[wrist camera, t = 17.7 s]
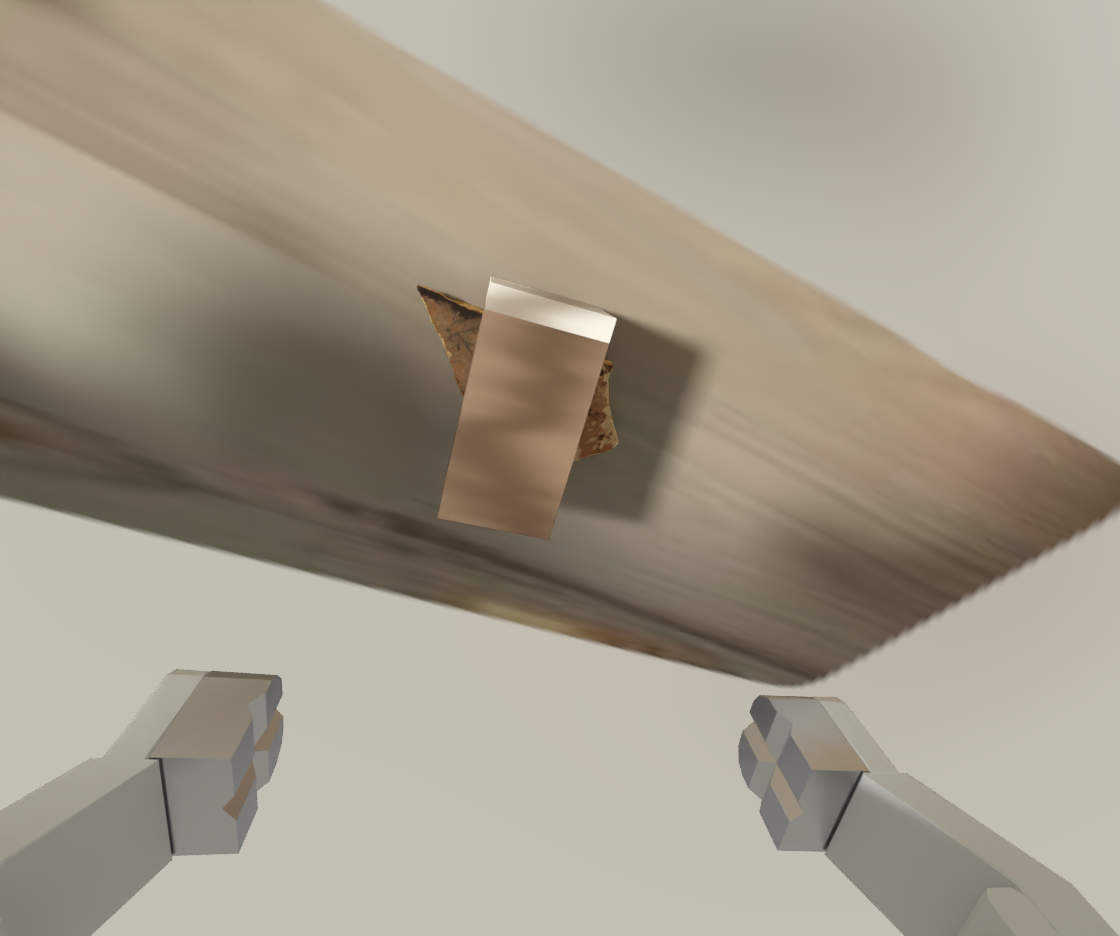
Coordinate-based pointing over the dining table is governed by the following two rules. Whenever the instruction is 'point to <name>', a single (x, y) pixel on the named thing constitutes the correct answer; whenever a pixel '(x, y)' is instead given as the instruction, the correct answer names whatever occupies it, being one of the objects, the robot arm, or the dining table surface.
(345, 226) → the dining table surface
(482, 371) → the wooden block
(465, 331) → the shard
